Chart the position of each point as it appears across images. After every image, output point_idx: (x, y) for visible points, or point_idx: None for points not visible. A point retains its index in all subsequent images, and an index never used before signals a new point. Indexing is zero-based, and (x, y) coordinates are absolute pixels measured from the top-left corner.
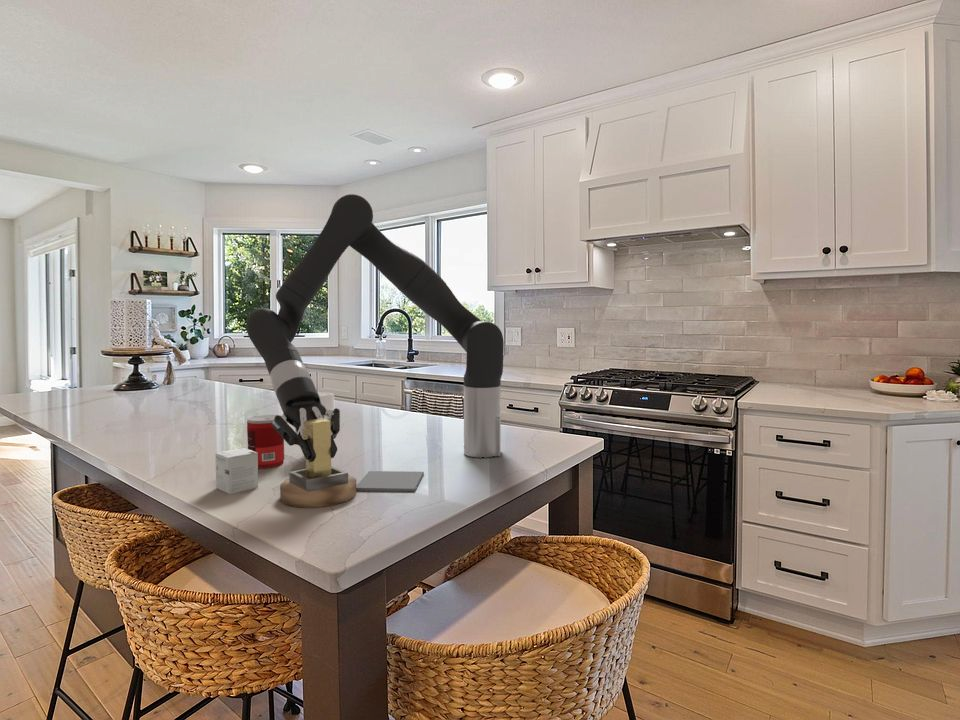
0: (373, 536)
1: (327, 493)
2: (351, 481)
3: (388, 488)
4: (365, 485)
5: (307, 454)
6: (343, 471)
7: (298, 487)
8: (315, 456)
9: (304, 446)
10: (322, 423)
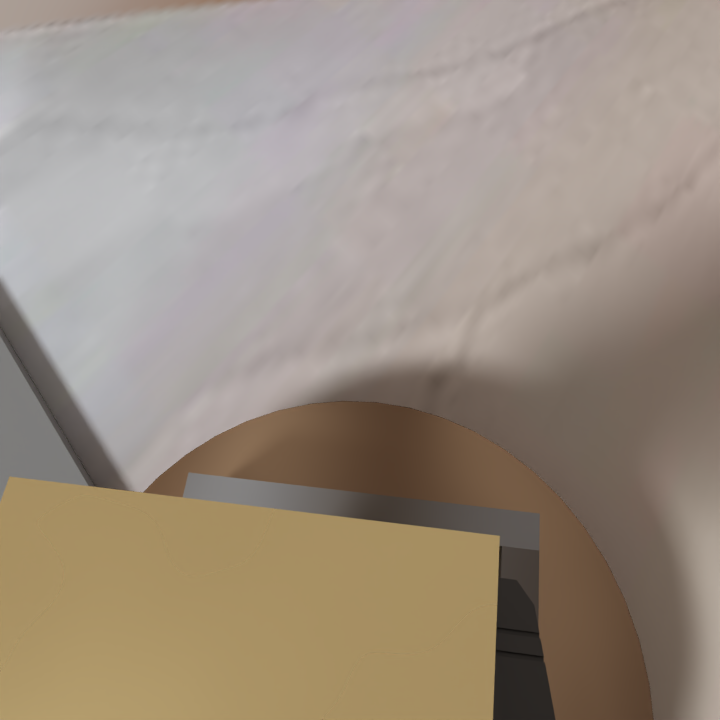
0: (494, 44)
1: (436, 416)
2: None
3: (32, 389)
4: None
5: (526, 600)
6: None
7: None
8: None
9: (544, 699)
10: (233, 513)
